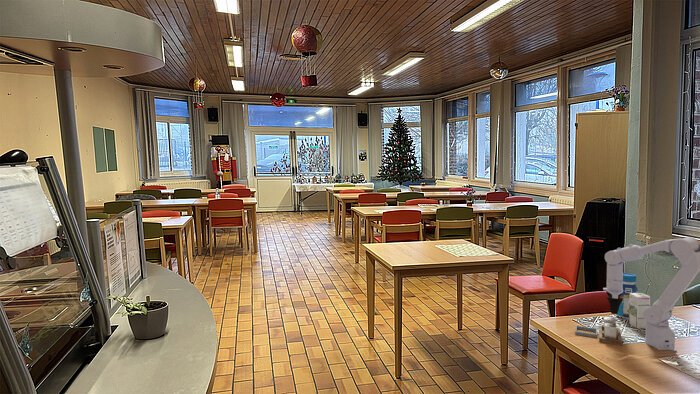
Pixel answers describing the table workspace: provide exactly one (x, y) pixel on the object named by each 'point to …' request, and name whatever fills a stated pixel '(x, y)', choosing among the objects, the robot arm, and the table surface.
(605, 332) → the loose billet
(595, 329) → the tote
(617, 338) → the pallet
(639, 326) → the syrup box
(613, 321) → the billet
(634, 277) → the beverage bottle
